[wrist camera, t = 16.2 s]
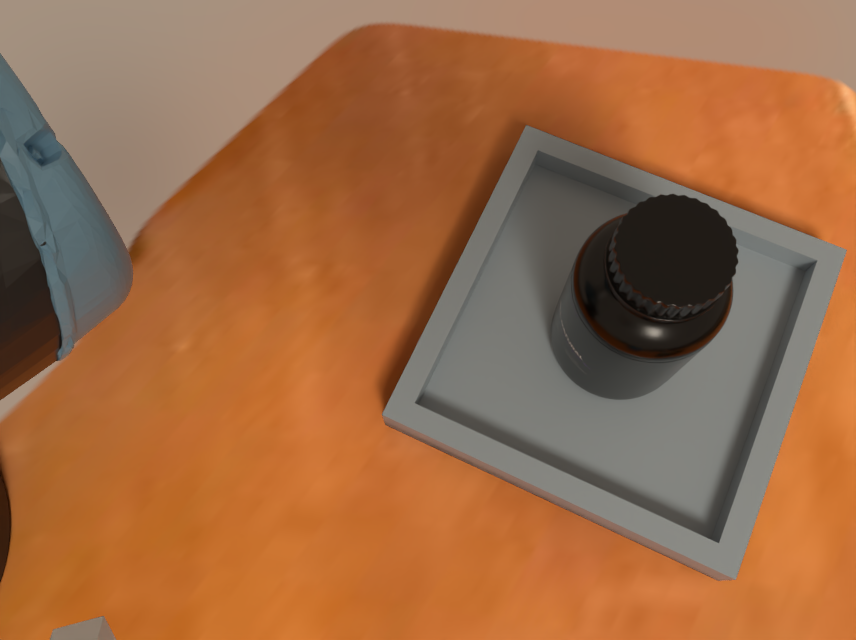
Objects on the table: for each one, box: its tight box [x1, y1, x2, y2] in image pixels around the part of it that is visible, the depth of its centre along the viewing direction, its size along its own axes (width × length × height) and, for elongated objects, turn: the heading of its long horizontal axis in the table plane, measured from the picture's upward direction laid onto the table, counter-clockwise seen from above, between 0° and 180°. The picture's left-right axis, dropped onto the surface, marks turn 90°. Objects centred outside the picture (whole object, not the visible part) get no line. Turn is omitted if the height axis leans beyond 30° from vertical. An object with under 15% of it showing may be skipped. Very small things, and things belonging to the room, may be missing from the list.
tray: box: [382, 125, 847, 581], centre depth 42 cm, size 18×18×2 cm
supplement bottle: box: [551, 194, 739, 400], centre depth 36 cm, size 7×7×12 cm
